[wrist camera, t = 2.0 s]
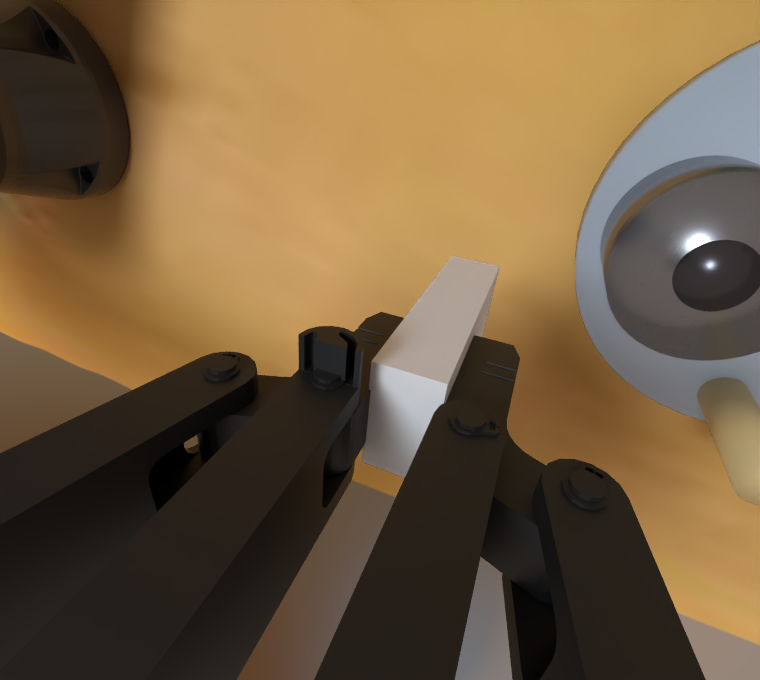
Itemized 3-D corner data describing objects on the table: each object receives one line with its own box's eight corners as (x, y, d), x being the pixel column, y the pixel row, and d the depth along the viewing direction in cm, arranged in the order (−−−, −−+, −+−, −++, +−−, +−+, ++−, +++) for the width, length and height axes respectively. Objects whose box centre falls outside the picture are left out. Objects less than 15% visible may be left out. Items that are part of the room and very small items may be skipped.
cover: (579, 294, 25) (580, 336, 21) (634, 143, 21) (650, 157, 17) (739, 330, 23) (776, 384, 19) (836, 170, 19) (912, 193, 14)
